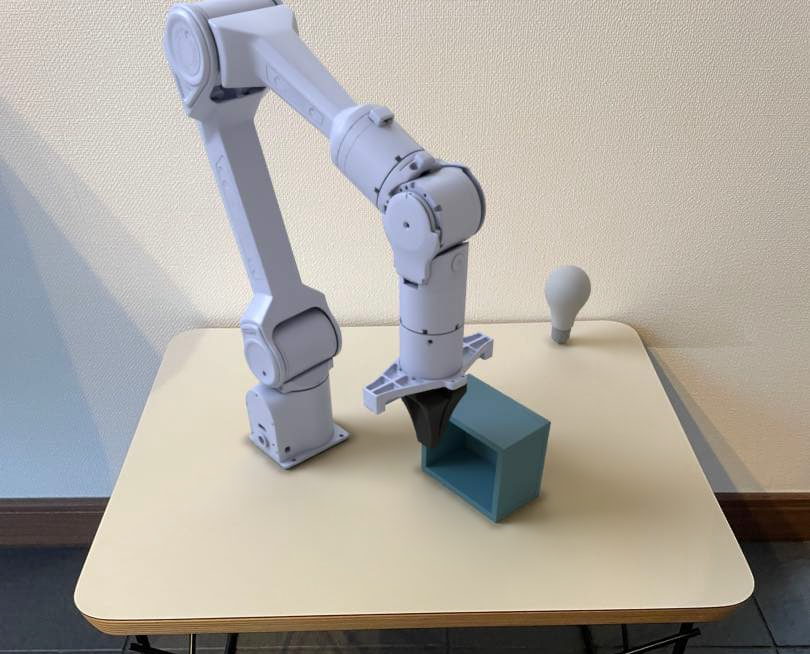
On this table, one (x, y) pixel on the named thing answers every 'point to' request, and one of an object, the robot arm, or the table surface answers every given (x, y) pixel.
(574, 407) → the table surface
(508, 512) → the teal open box
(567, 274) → the lightbulb
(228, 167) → the robot arm
